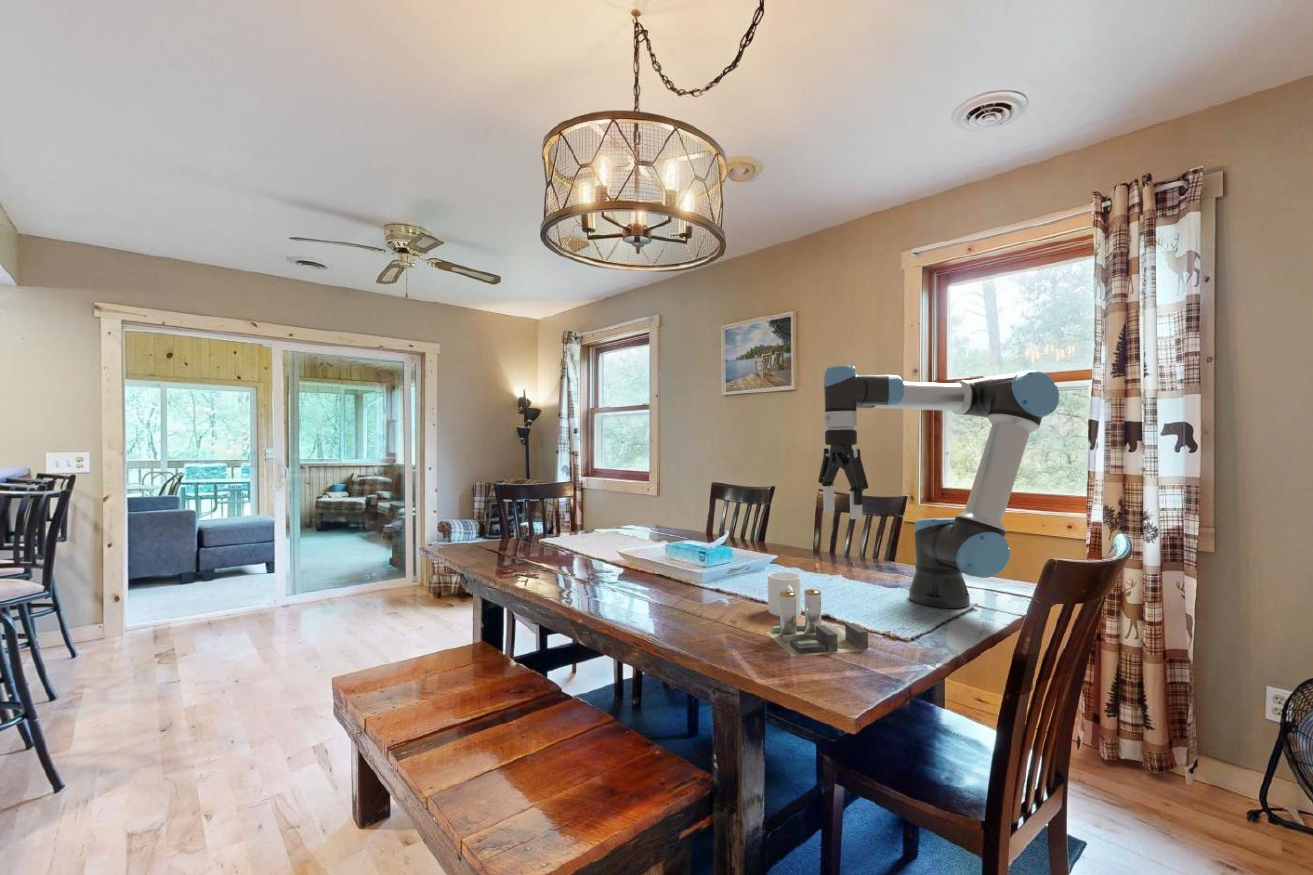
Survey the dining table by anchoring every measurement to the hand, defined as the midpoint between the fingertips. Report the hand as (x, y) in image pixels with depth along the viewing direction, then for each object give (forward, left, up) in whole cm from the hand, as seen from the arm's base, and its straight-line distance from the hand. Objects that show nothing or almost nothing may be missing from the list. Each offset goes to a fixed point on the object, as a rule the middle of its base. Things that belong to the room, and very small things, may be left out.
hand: (842, 515), depth 140 cm
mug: (+12, -7, -27) cm, 30 cm away
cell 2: (+12, +9, -26) cm, 30 cm away
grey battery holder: (+13, +13, -27) cm, 32 cm away
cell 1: (+18, +9, -26) cm, 33 cm away
